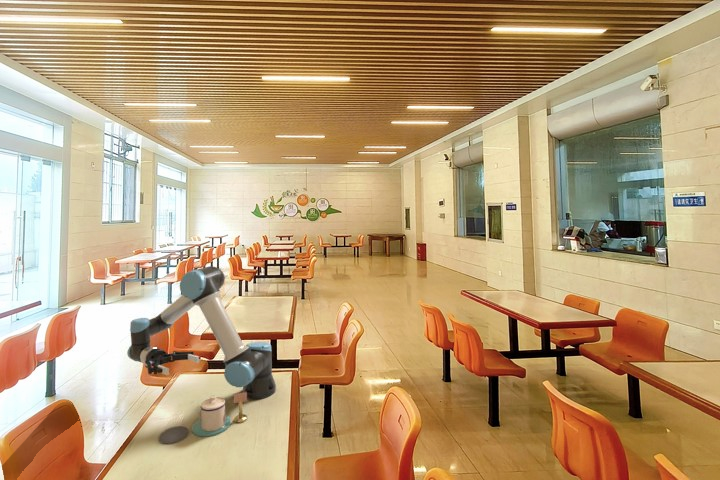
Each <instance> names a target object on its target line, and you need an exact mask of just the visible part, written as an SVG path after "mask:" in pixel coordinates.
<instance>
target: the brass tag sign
mask: <svg viewBox="0 0 720 480" xmlns="http://www.w3.org/2000/svg"><path fill="white" fill-rule="evenodd" d="M247 401H248V398H247V392H243V391H242V392H236V393H233V403H234V404H236V403H238V415H236V416H234V419H233V420H234V421H233V422H235V423H236V424H241V423H244V422H246V421H248V415H247V414H244V413H243V412H244V411H243V402H247Z"/></svg>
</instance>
